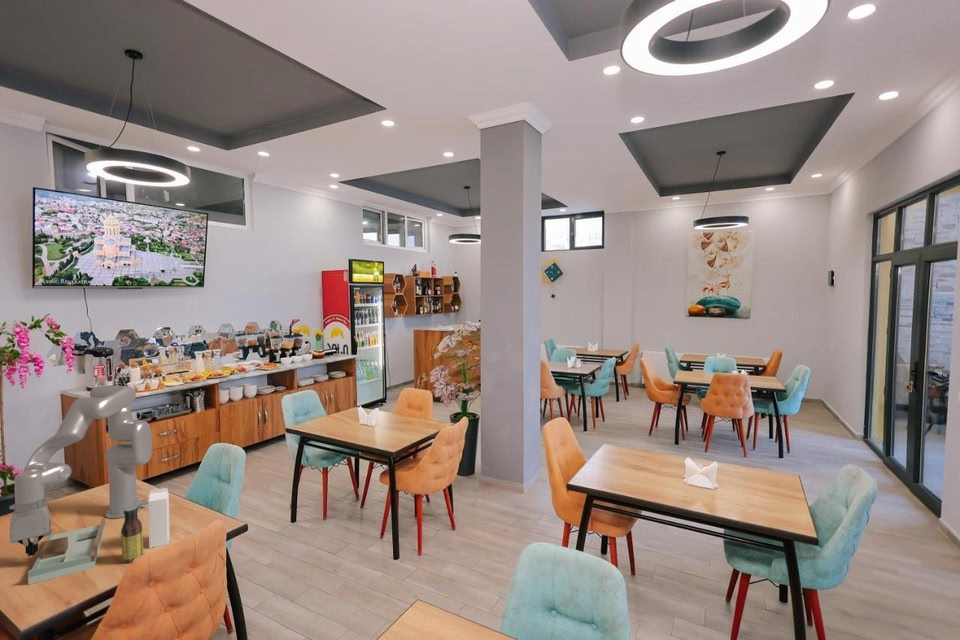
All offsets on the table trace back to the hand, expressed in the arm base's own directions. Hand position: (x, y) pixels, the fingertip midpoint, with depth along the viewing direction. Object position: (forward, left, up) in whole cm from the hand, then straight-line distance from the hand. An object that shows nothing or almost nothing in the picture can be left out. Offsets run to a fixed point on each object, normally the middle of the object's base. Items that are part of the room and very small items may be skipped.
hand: (32, 554), depth 161 cm
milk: (-38, +9, -4) cm, 39 cm away
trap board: (-10, 0, -4) cm, 11 cm away
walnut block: (-6, +1, -1) cm, 7 cm away
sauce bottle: (-30, +17, -4) cm, 34 cm away
